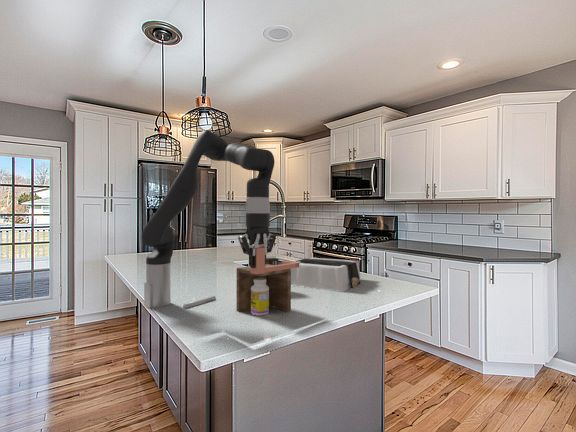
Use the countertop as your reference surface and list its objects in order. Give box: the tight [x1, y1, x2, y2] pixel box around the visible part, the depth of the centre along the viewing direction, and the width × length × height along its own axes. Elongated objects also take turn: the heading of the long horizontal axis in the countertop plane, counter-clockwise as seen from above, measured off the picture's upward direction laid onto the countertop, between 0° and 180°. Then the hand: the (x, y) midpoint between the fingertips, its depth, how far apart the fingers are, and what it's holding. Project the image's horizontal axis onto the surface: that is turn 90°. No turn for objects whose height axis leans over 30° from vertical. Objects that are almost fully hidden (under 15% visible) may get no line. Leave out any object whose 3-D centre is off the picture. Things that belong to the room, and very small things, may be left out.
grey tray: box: [291, 257, 361, 293], centre depth 171 cm, size 35×33×12 cm
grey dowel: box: [182, 295, 217, 310], centre depth 134 cm, size 16×2×2 cm
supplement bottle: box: [250, 278, 270, 317], centre depth 120 cm, size 7×7×13 cm
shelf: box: [236, 264, 292, 313], centre depth 123 cm, size 15×14×16 cm
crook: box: [250, 247, 299, 274], centre depth 110 cm, size 20×8×8 cm, turn 133°
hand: (257, 266), depth 103 cm, fingers closed on crook, 3 cm apart
